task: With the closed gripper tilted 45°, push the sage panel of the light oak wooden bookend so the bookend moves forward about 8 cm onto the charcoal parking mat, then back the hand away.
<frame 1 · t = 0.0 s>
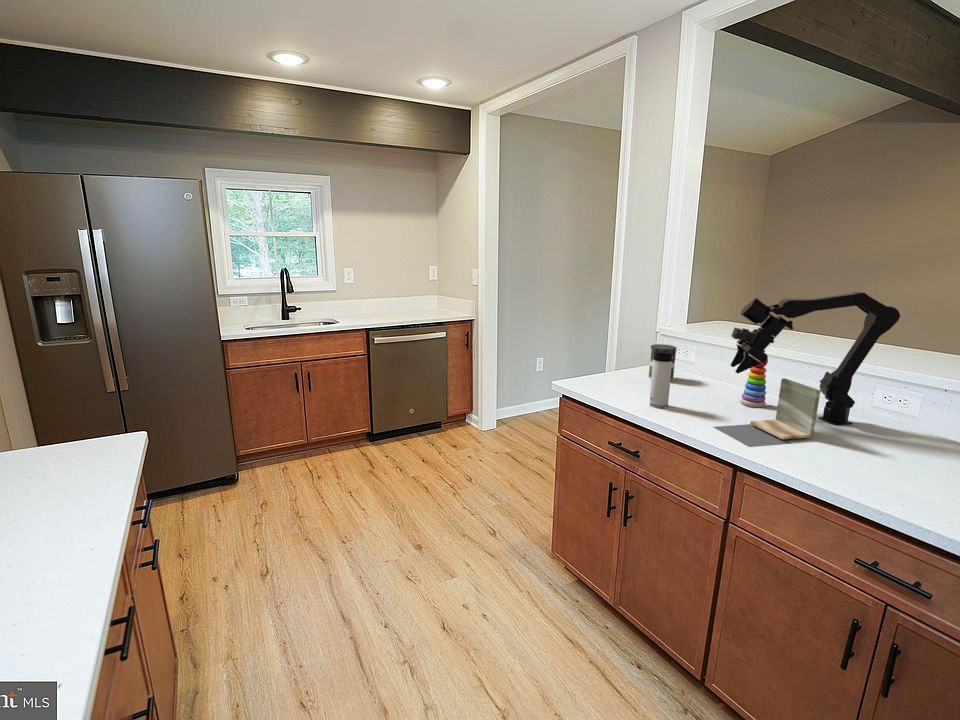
hand: (733, 369, 164), 15 cm above the countertop, tool tilted 35°, fingers open, 9 cm apart
travel mug: (658, 406, 173), on the countertop
parking mat: (750, 435, 146), on the countertop
wooden bookend: (783, 408, 146), point 8 cm above the countertop, slide at 0.0 cm
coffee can: (660, 379, 210), on the countertop
stacking toy: (752, 405, 175), on the countertop
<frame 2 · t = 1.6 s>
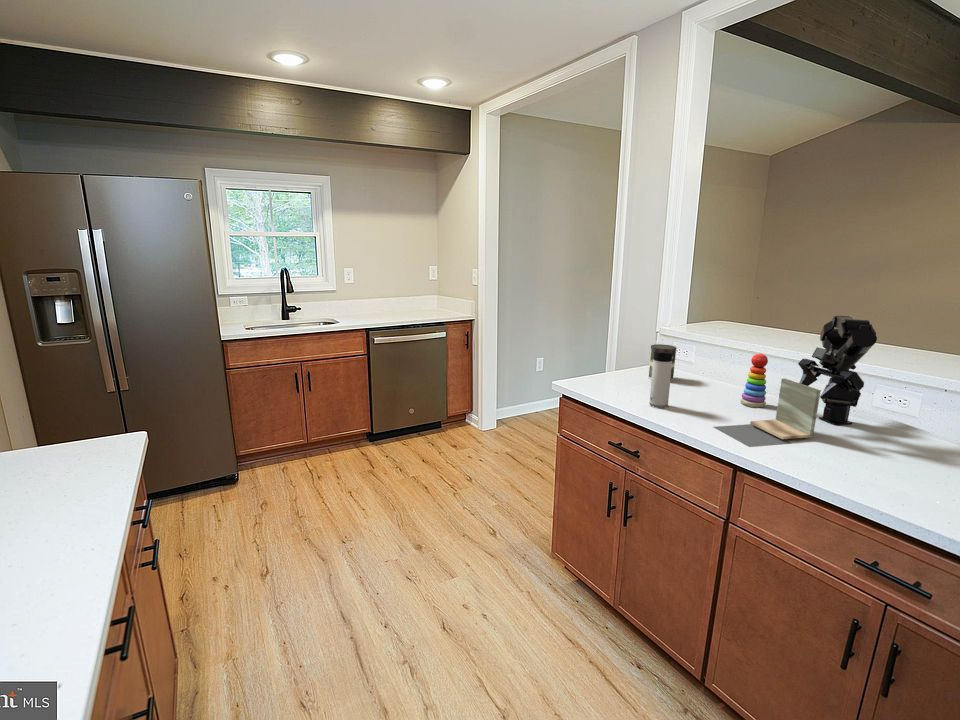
hand: (809, 393, 147), 12 cm above the countertop, tool tilted 45°, fingers open, 8 cm apart
nothing on the countertop moved.
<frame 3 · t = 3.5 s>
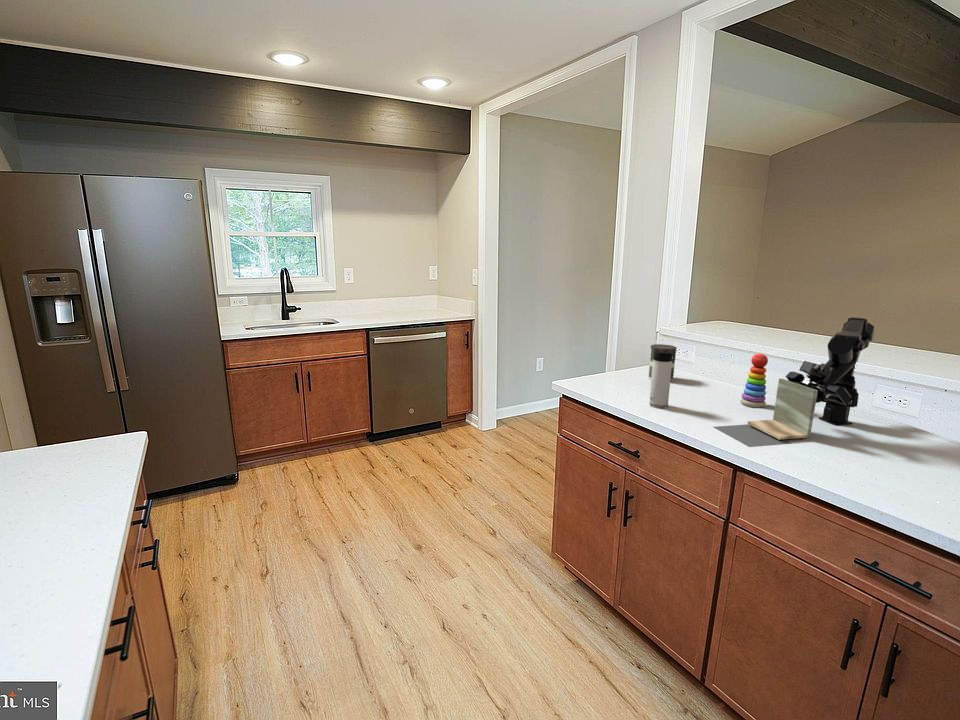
hand: (796, 407, 147), 8 cm above the countertop, tool tilted 45°, fingers closed, pressing on wooden bookend
wooden bookend: (780, 409, 146), point 8 cm above the countertop, slide at 1.0 cm, touching gripper
everything else where it was.
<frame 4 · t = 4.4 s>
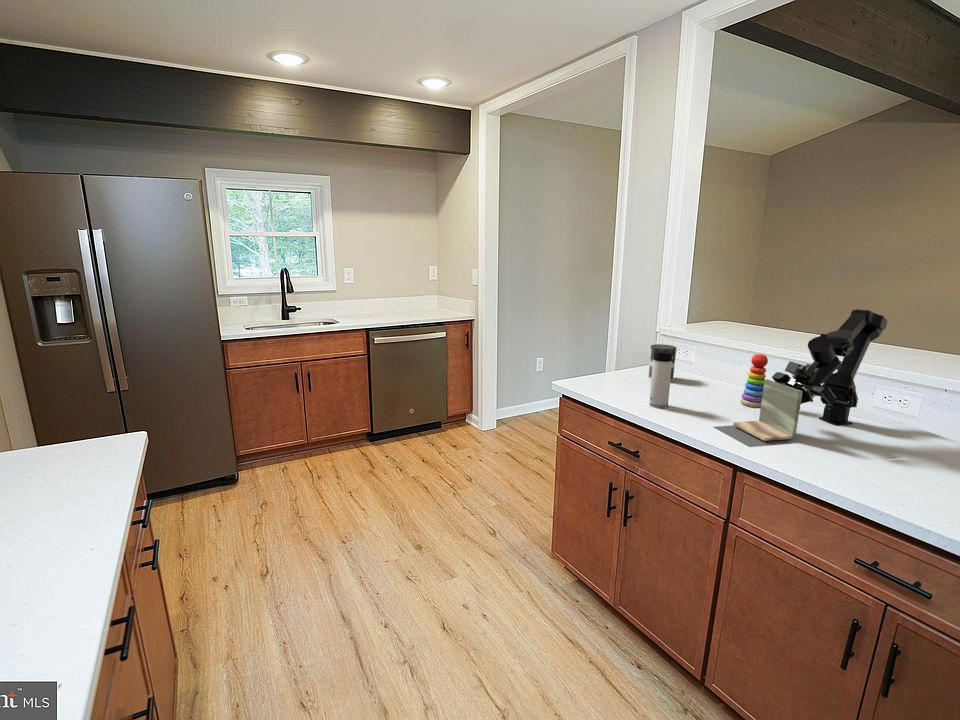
hand: (782, 408, 146), 8 cm above the countertop, tool tilted 45°, fingers closed, pressing on wooden bookend
wooden bookend: (766, 409, 145), point 8 cm above the countertop, slide at 6.0 cm, touching gripper
everything else where it was.
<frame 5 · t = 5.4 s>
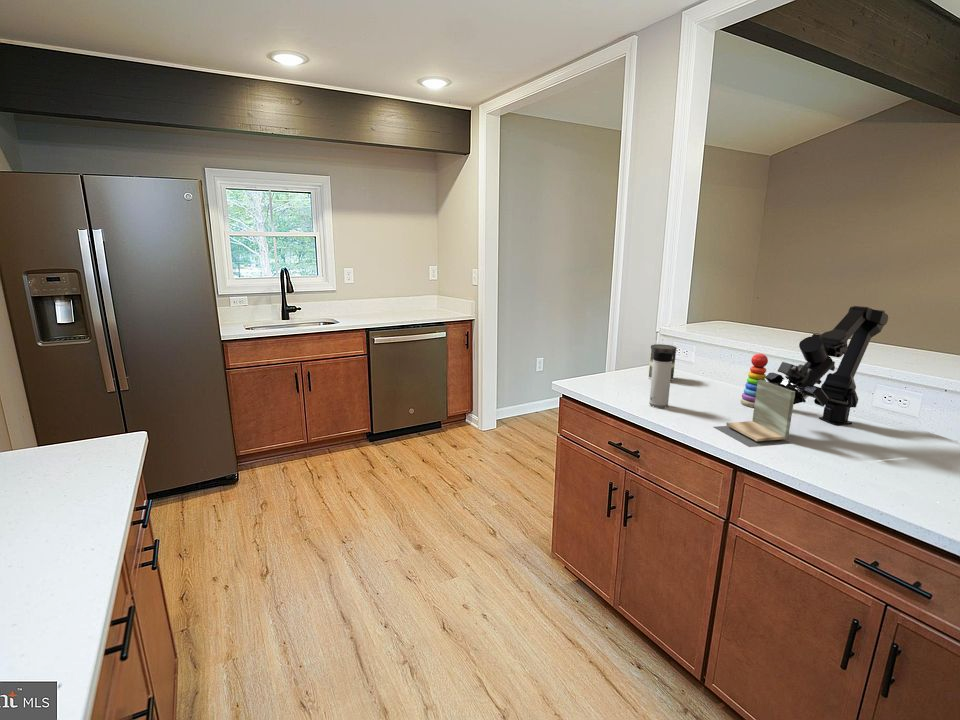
hand: (775, 408, 145), 8 cm above the countertop, tool tilted 45°, fingers closed, pressing on wooden bookend
wooden bookend: (759, 410, 144), point 8 cm above the countertop, slide at 8.4 cm, touching gripper
everything else where it was.
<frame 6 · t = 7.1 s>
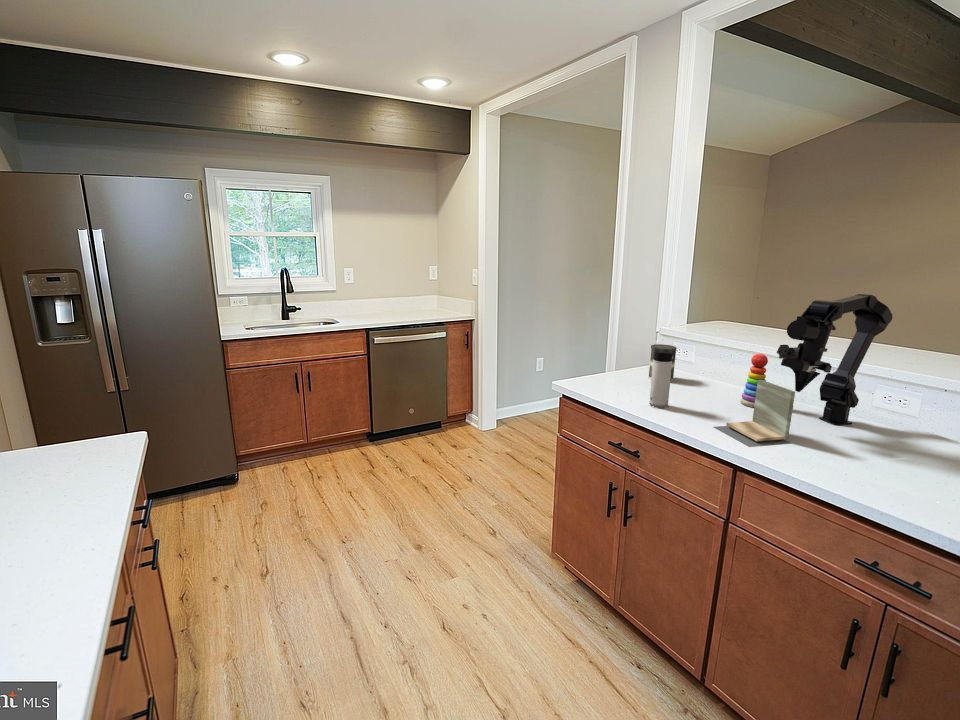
hand: (797, 391, 150), 12 cm above the countertop, tool pointing down, fingers closed
wooden bookend: (759, 410, 144), point 8 cm above the countertop, slide at 8.4 cm
everything else where it was.
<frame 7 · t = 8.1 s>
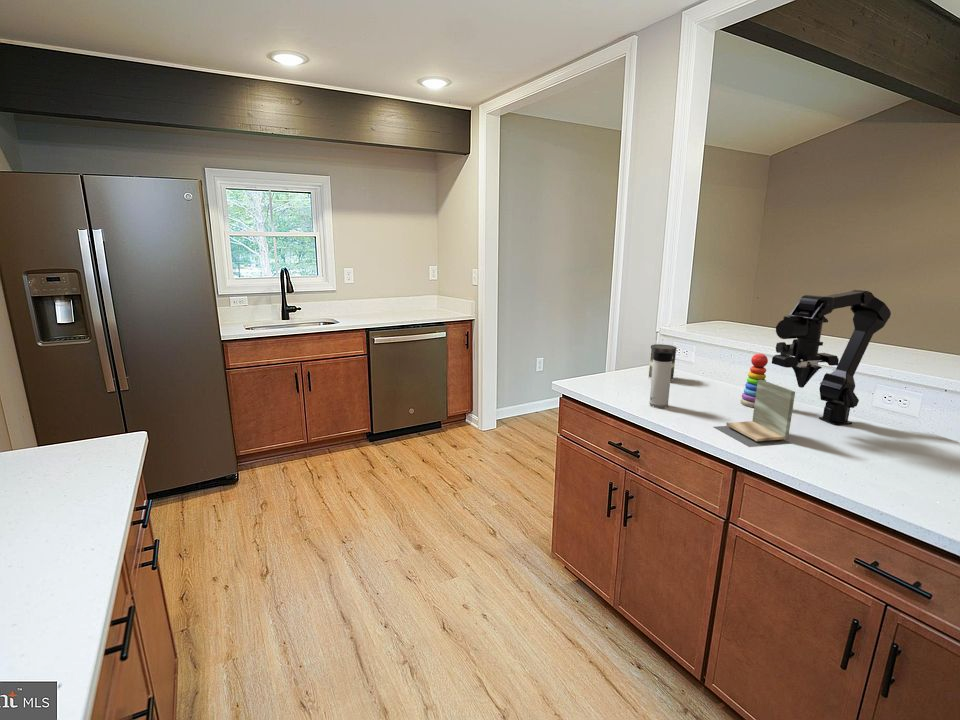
hand: (800, 387, 150), 13 cm above the countertop, tool pointing down, fingers closed
nothing on the countertop moved.
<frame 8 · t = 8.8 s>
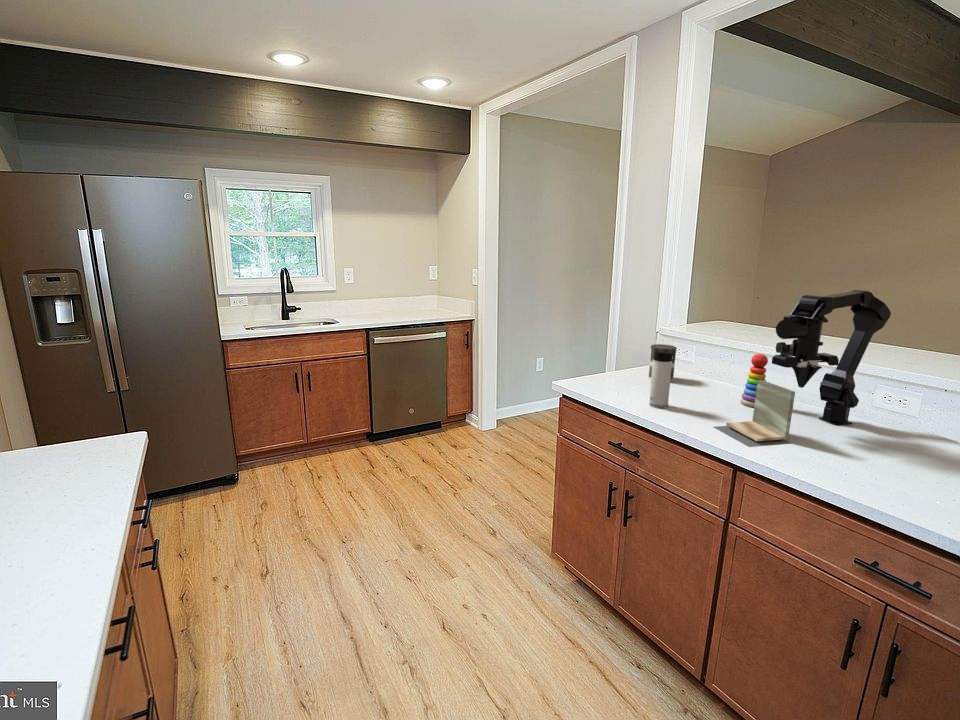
hand: (800, 387, 150), 13 cm above the countertop, tool pointing down, fingers closed
nothing on the countertop moved.
at the end: wooden bookend slide at 8.4 cm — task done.
